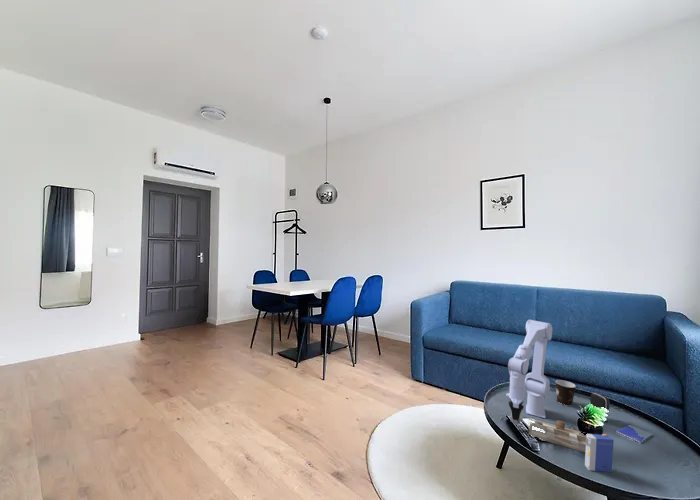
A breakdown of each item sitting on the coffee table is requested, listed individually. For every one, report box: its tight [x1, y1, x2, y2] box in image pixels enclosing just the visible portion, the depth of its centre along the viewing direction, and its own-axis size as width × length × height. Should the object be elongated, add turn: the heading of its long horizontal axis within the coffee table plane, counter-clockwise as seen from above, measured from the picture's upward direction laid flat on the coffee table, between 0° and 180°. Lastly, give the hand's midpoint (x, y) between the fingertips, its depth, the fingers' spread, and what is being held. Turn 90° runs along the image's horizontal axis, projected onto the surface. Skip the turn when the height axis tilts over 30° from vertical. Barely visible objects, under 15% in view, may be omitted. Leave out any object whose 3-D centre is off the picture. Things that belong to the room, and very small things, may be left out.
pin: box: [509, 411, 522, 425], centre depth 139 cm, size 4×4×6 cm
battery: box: [589, 392, 611, 423], centre depth 149 cm, size 7×4×11 cm, turn 13°
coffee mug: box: [555, 379, 576, 406], centre depth 162 cm, size 12×9×10 cm
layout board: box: [528, 417, 586, 453], centre depth 134 cm, size 14×24×4 cm, turn 61°
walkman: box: [584, 433, 615, 473], centre depth 115 cm, size 8×3×12 cm, turn 86°
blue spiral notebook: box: [615, 425, 644, 442], centre depth 138 cm, size 2×8×12 cm
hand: (515, 417), depth 139 cm, fingers closed on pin, 4 cm apart
